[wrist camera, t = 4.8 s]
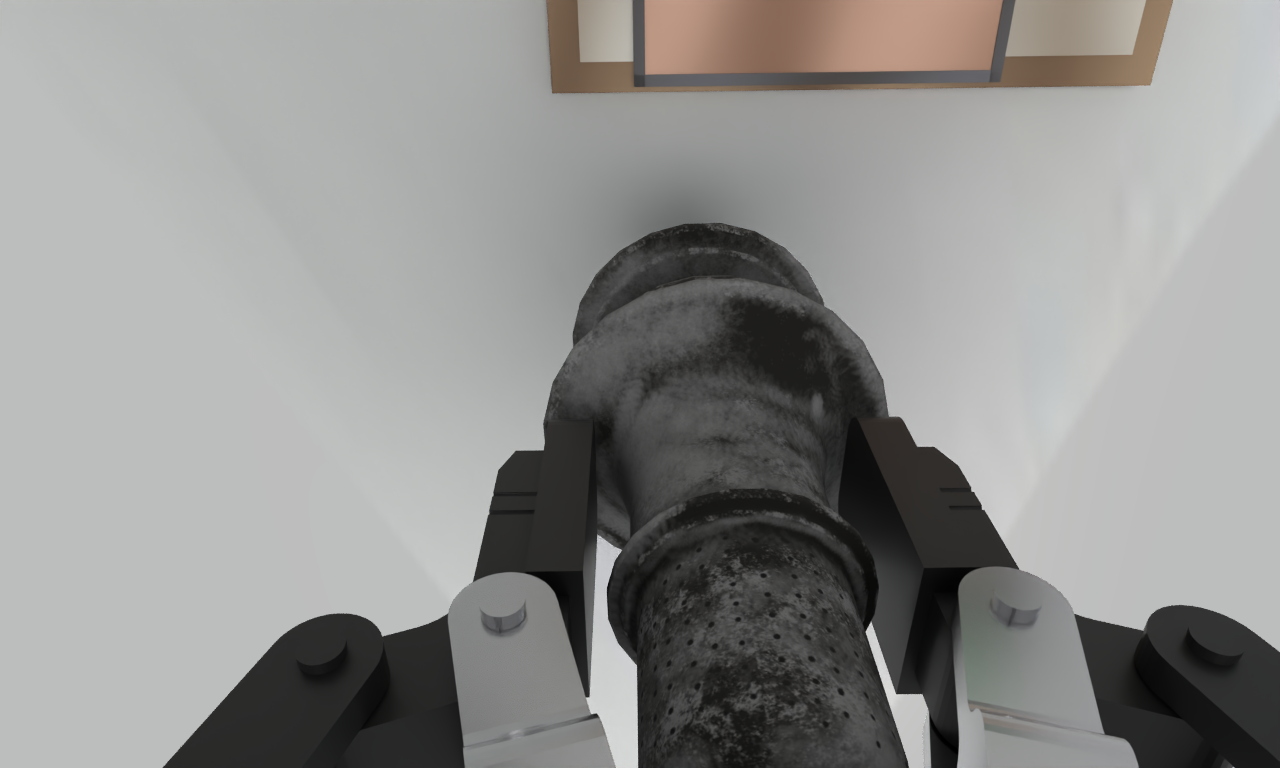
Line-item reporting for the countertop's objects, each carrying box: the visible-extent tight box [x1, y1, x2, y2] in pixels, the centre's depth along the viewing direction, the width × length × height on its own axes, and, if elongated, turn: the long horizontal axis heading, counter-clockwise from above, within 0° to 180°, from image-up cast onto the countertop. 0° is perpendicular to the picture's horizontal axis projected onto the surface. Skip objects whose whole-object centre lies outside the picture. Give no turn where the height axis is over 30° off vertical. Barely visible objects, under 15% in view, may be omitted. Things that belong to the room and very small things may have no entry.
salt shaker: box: [543, 223, 909, 768], centre depth 12 cm, size 6×6×12 cm
